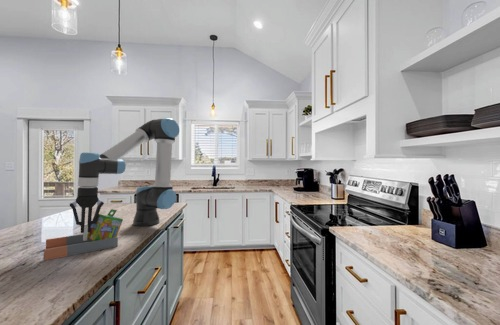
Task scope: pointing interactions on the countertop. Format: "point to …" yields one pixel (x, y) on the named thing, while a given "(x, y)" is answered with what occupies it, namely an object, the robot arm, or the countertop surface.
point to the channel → (75, 246)
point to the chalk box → (105, 227)
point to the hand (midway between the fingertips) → (85, 239)
